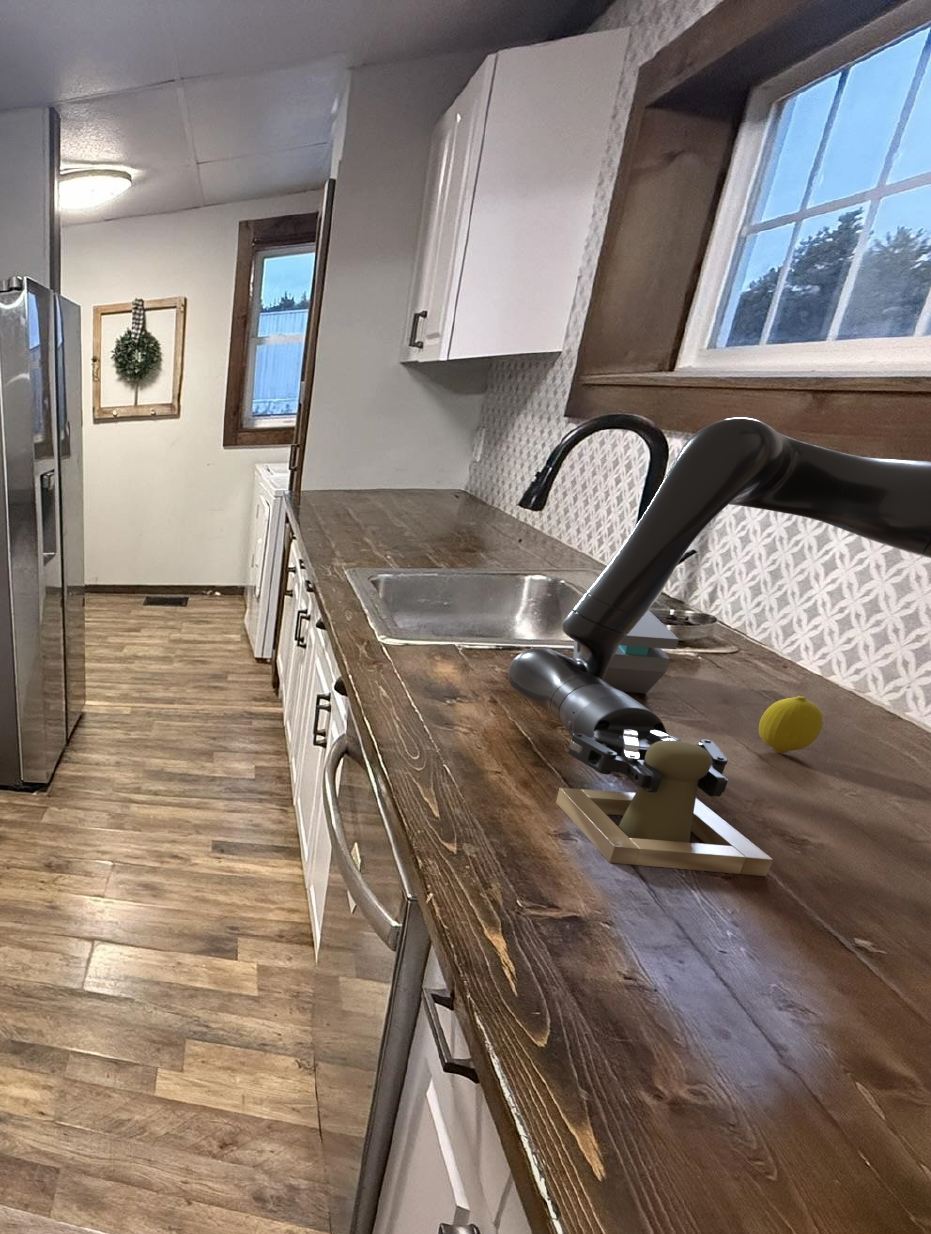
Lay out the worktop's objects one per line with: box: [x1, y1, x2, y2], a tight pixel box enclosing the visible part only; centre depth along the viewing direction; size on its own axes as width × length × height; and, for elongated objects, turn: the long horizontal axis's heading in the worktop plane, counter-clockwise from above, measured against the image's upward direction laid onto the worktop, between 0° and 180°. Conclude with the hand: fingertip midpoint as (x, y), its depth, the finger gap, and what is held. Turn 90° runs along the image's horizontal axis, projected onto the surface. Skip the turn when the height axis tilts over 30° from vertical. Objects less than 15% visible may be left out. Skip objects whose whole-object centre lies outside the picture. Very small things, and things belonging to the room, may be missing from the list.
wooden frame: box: [555, 787, 774, 877], centre depth 84 cm, size 13×13×2 cm
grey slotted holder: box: [572, 609, 680, 695], centre depth 126 cm, size 25×8×11 cm, turn 152°
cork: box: [617, 740, 712, 843], centre depth 83 cm, size 6×6×11 cm
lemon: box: [758, 695, 824, 754], centre depth 100 cm, size 6×6×8 cm
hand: (687, 786), depth 80 cm, fingers closed on cork, 5 cm apart
